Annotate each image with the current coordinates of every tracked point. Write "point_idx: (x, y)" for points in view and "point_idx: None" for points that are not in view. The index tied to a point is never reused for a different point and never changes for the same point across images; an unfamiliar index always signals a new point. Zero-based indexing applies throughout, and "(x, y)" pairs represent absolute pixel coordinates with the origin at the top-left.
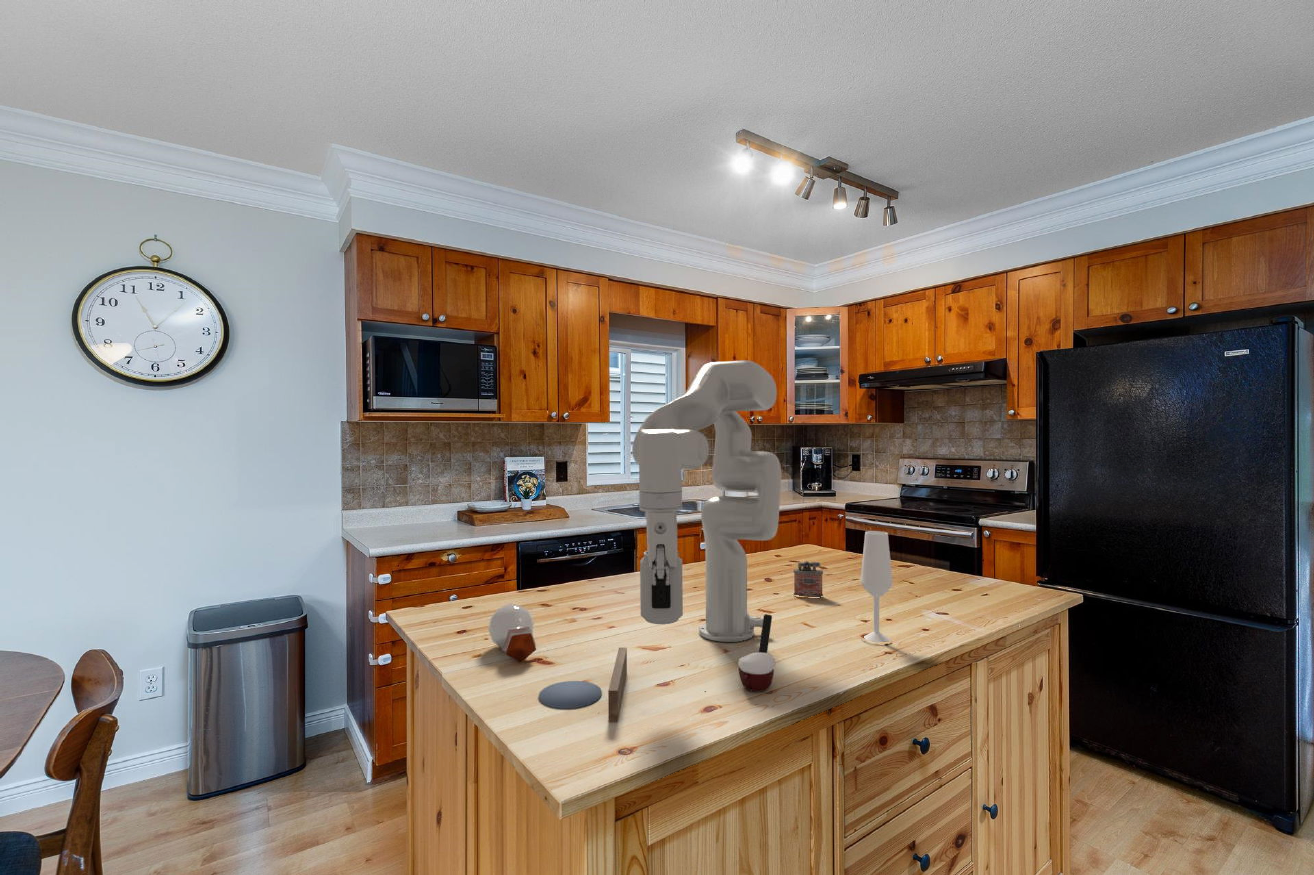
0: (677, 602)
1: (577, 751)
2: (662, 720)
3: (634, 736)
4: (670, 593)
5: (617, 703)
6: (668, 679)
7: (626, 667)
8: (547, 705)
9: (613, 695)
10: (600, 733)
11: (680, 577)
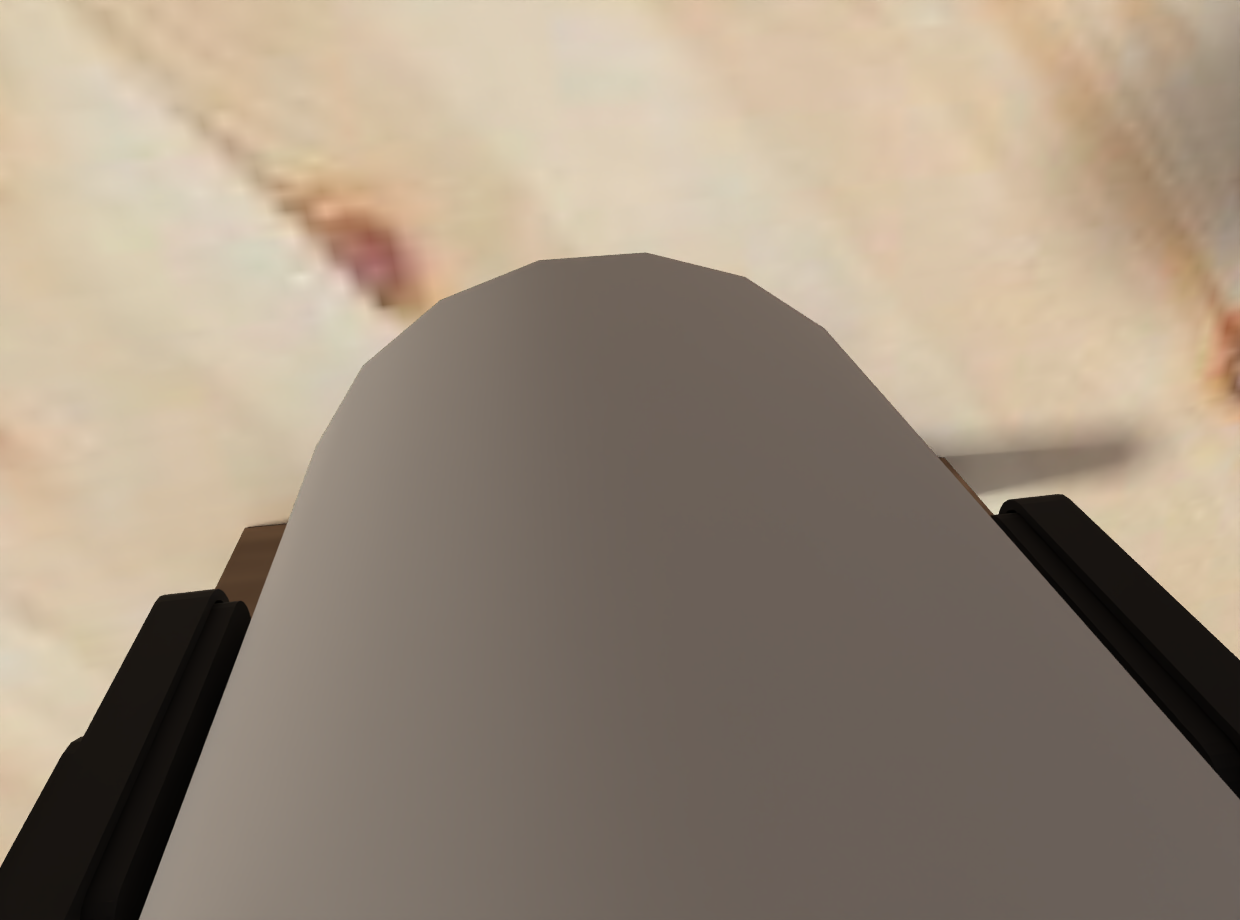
0: (890, 412)
1: (1216, 570)
2: (939, 211)
3: (1115, 345)
4: (1208, 632)
5: (986, 507)
6: (277, 234)
7: (265, 553)
8: None
9: None
10: None
11: (1026, 656)
